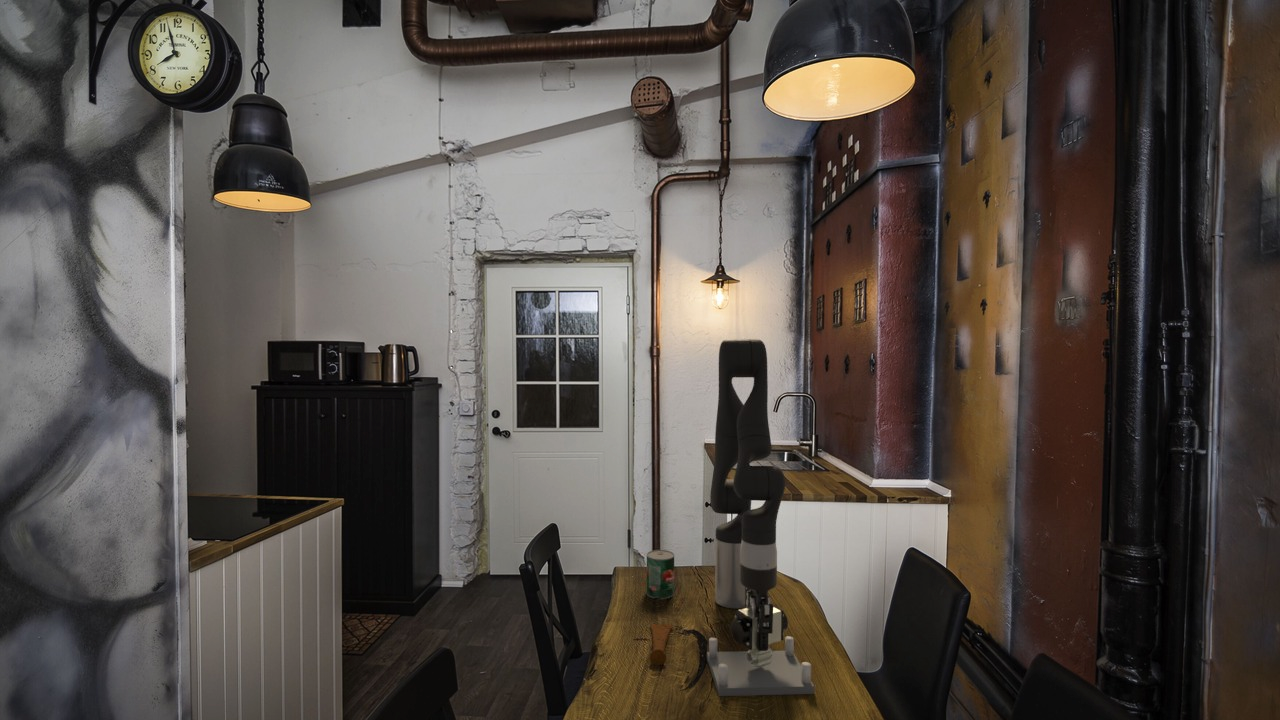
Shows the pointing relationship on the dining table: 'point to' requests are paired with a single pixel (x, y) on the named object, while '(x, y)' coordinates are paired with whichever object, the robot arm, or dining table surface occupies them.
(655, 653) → the primitive tool
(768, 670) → the peg board
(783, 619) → the pneumatic valve
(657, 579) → the canned tomato
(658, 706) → the dining table surface
